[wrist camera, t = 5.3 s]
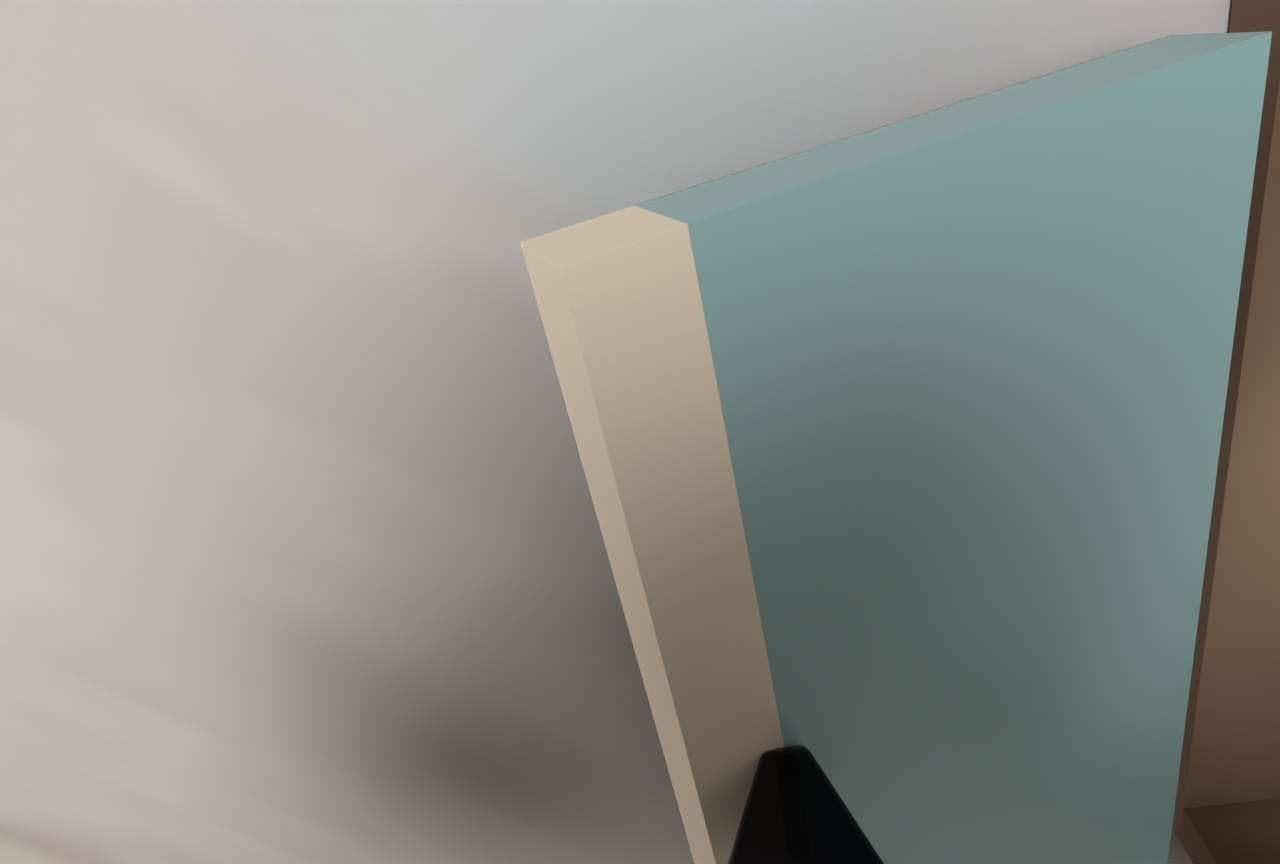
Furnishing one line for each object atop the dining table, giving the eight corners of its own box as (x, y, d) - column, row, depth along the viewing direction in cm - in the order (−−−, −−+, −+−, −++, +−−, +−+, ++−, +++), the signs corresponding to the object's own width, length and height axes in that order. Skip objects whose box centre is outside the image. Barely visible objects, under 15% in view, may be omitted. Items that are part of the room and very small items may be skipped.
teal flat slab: (1271, 32, 8) (558, 266, 6) (1167, 865, 13) (783, 1121, 11) (1170, 35, 9) (519, 241, 7) (1112, 817, 14) (746, 1048, 12)
